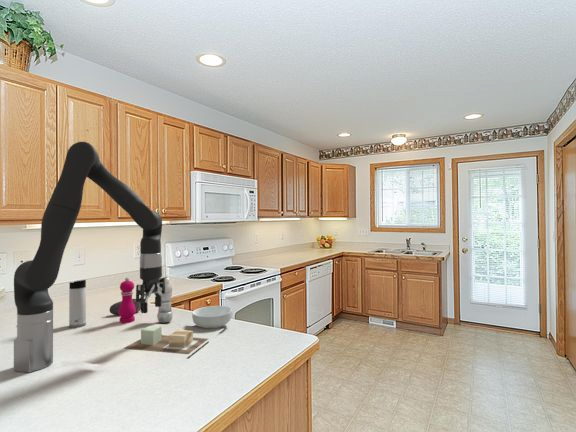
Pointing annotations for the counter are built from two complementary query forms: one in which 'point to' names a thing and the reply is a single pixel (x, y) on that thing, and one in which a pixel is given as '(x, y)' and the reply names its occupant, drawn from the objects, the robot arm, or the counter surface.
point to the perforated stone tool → (115, 307)
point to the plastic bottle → (165, 304)
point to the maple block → (180, 338)
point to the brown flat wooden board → (164, 346)
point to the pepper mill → (127, 302)
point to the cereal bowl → (212, 316)
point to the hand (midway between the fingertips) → (151, 309)
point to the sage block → (151, 335)
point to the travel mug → (77, 304)
